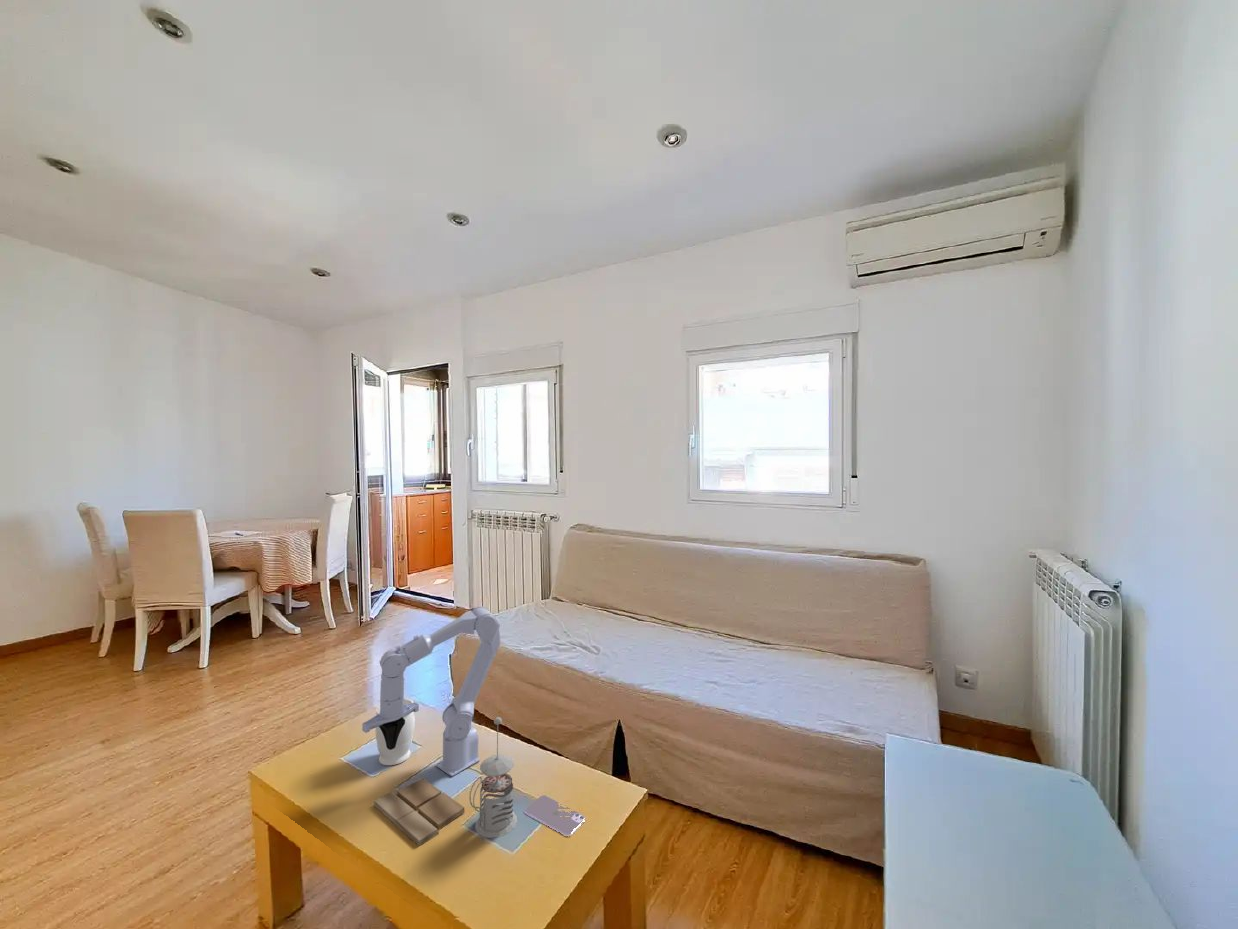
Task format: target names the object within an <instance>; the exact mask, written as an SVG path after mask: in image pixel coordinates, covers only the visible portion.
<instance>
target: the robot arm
mask: <svg viewBox="0 0 1238 929" xmlns="http://www.w3.org/2000/svg"><path fill="white" fill-rule="evenodd" d="M500 626H501V625H500V623H499V620H498V619H497V617H496V615H494V614H492V613H491V612H490V611H489V610H488V609H487V608H486V607H485V606H481V605H480V606H476V607H474V608H472V609H471V610H468V611H465V612H464V613H463V614H462V615H461V616H459V617H457V618H456V619H454V620H452V621H451V622H449V623H447V624H446V625H445V626H442V627H440V629H438V630H436V631H435V632H433V633H431V634H429V635H427V634H420V635H419V634H416V635H414V636H413V639H412V640H410V641H408V642H406V643H405V644H403V645H401V646H400V645H398V646H396V647H395V648H393V649H389V650H387V651H385V652H384V653H383V655H382V656H381V658H380V660H379V666H380V667H381V668H380V669H381V675H380V676H381V677H380V693H379V694H380V697H379V699H380V700H379V705H380V713H379V714H378V715H377V714H376V715H375V716H373V717H371V718H370V719H367V721H364V722H362V723H361V724H362V725H361V726H362V728H361V729H362V730H361V731H362V732H364V733H366V734H367V733H369V732H371V730H373V729H376V727H378V726H379V728H380V729H381V731H382V733H383V735H384V738H385V742H386V747H387V748H388V749H389V750H392V749H394V748H395V746H396V743H397V739H398V736H399V734H400V731H401V729H402V727H403V726H404V724H405V719H403V716H405V715H407V714H409V713H412V712H414V713H417V712H419V709H420V708H419V707H420V704H419V703H417V702H415V701H414V703H411V704H407V705H404V694H405V677H404V672H405V671H406V669H407V667H409V666H411V665H413V664H415V663H417V662H418V661H420V660H422V659H425V657H427V656H429V655H431V654H432V652H433V651H434V648H435V647H437V646H438V645H440V644H442V643H444V642H447V641H449V640H450V639H452V638H454V637H457V636H458V635H461V634H468V635H475V632H476V633H477V635H478V637H479V640H480V644H479V647H478V649H477V652H476V653H475V655H474V658H473V660H472V663H471V665H470V666H469V669H468V671H467V673H466V675H465V678H464V680H463V682H462V685H461V687H460V689H459V692H458V694H457V695H455V696H454V697H453V698H452V699H451V702H450V703H449V705H448V706H446V708H445V709H444V710H443V712H442V714H441V715H442V716H441V718H442V722H443V723H444V725H445V728H444V729H443V730H444V731H443V733H442V760H441V761H439V762H436V764H435V766H436V767H437V768H438V769H440V770H442V772H444V773H446V774H447V775H449V776H450V777H454V776H456V775H457V774H459V773H461V772H463V771H464V770H467V768H469V767H472V766H473V765H475V764H476V763H478V762H480V760H481V759H480V757H479V740H480V739H479V734H478V731H477V728H475V727H474V726H473V725H472V719H473V717H474V713H475V702H476V700H477V698H478V695H479V693H480V691H481V688H482V685H483V683H484V682H485V680H486V677H487V675H488V672H489V670H490V668H491V666H492V663H493V661H494V659H495V656H496V654H497V652H498V650H499V647H500V645H501V635H500V628H501V627H500Z"/></svg>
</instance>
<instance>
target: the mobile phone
mask: <svg viewBox="0 0 1238 929" xmlns="http://www.w3.org/2000/svg"><path fill="white" fill-rule="evenodd" d="M558 803H560V802H558V801H557V800H555V799H553V798H551V797H549V796H547V795H543V794H542V795H541V796H540V797H538V798H537V799H535V800H534V801H533V802H531V804H530V805H528V806H527V807H526V808H525V809H524V812H523V813H524V814H525V815H527V816H528V817H529V818H532V819H533V820H535V821H537V822H539V823H541V824H542V823H543V824H542V825H544V824H545V825H544V826H546V825H547V826H546V827H548V826H549V827H550V829H551V828H552V829H551V830H553V829H554V830H556V831H557V832H556V831H555V832H556V833H558V832H560V833H561V834H564V835H567V836H570V835H572V834H573V833H574V832H575V831H576V829H578V828H579V827H580V826H581V823H582V822H585V820H584V819H586V818H587V817H586V818H585V817H584V816H585V815H584V814H582V813H579V811H577V810H574V811H571V812H570V811H569V812H570V813H571V814H570V813H568V812H565V811H563V810H562V812H561V811H558V809H571V807H569V806H567V807H566V808H564V807H562V806H560V807H559V805H558ZM561 804H562V803H561ZM561 804H560V805H561ZM568 807H569V808H568ZM560 816H562V817H560ZM565 816H570V817H565ZM585 823H586V822H585ZM549 827H548V828H549ZM581 827H582V826H581ZM581 827H580V828H581ZM580 828H579V829H580ZM579 829H578V830H579ZM554 830H553V831H554ZM576 832H577V831H576ZM576 832H575V833H576ZM560 833H559V834H560ZM575 833H574V834H575ZM561 834H560V835H561ZM574 834H573V835H574ZM564 835H563V836H564ZM573 835H572V836H573Z"/></svg>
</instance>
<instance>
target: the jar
mask: <svg viewBox="0 0 1238 929" xmlns="http://www.w3.org/2000/svg"><path fill="white" fill-rule="evenodd" d="M414 702H415V701H414V700H413V699H411V698H406V697H405V698H404V705H407V704H411V703H414ZM375 712H376V713H375V714H376V715H378V714H379V713H380V704H379V705H378V706H377V707H376V710H375ZM403 719H405V724H404V726H403V727H402V729H401V731H400V734H399V736H398V739H397V743H396V746H395V748H394V749H392V750H389V749H388V748H387V747H386V742H385V738H384V735H383V733H382V731H381V729H380V728H379V726H378V727H376V728H375V740H376V747H377V750H378V753H379V757H378V762H379V763H380V764H381V765H384V766H394V765H395V766H396V765H398V764H399V765H400V764H401V763H404V762H405V761H406V760H408V759H409V758H410V756H411V750H410V748H411V746H412V742H413V737H414V732H415V728H416V727H415V724H416V721H415V712H412V713H409V714H407V715H405V716H403Z"/></svg>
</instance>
